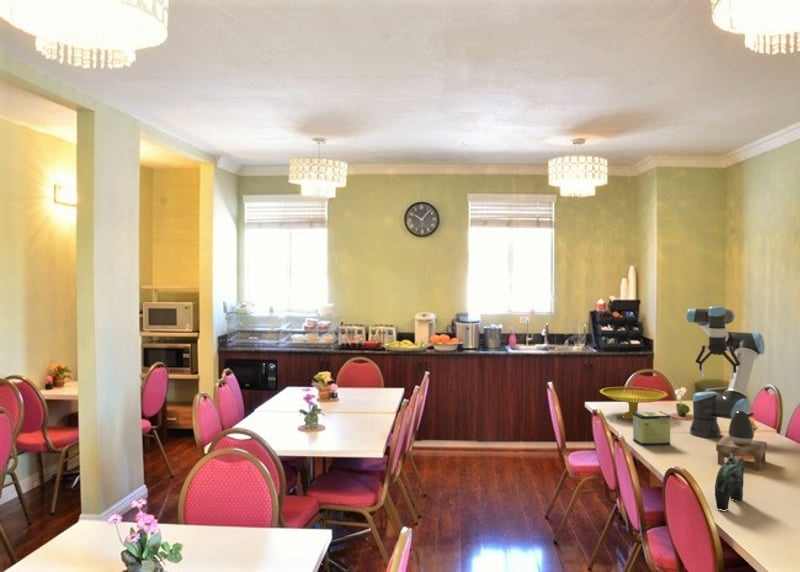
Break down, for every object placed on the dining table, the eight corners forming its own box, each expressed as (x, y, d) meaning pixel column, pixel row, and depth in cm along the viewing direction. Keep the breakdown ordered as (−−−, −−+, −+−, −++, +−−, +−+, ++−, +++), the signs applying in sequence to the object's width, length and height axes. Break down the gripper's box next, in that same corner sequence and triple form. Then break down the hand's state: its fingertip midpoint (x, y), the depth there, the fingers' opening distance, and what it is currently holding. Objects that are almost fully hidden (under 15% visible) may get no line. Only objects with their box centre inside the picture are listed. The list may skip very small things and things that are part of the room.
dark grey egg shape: (757, 447, 268) (756, 413, 268) (731, 445, 271) (730, 412, 271) (751, 441, 278) (751, 408, 278) (726, 439, 281) (726, 407, 281)
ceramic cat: (731, 496, 233) (731, 445, 233) (749, 500, 228) (749, 448, 228) (711, 509, 220) (710, 455, 220) (730, 514, 215) (729, 459, 215)
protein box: (671, 445, 305) (670, 415, 305) (641, 446, 304) (641, 416, 304) (661, 439, 315) (660, 410, 315) (632, 440, 315) (632, 411, 315)
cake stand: (585, 413, 381) (585, 389, 380) (633, 406, 396) (633, 384, 396) (633, 426, 343) (632, 401, 343) (683, 419, 359) (683, 394, 359)
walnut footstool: (716, 464, 273) (716, 444, 273) (723, 454, 287) (723, 436, 287) (761, 471, 262) (761, 451, 262) (766, 461, 276) (766, 441, 276)
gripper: (746, 337, 298) (746, 379, 298) (692, 334, 313) (692, 374, 313) (743, 338, 292) (744, 381, 292) (689, 336, 307) (689, 376, 307)
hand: (717, 378), depth 303 cm, fingers open, 13 cm apart
